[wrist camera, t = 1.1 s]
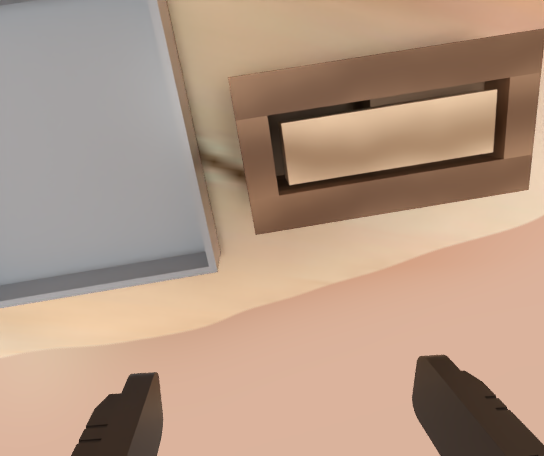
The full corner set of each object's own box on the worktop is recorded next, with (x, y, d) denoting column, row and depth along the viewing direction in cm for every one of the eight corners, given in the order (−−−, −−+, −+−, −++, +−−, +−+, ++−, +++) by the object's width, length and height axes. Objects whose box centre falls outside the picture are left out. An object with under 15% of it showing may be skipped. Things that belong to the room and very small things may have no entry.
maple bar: (277, 121, 24) (281, 123, 22) (473, 90, 25) (497, 89, 22) (285, 177, 26) (289, 185, 23) (470, 147, 26) (493, 152, 24)
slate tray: (-150, 20, 25) (-222, 5, 21) (160, -26, 25) (145, -49, 21) (-17, 291, 32) (-52, 316, 28) (220, 252, 32) (217, 271, 29)
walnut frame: (232, 84, 28) (228, 77, 21) (472, 46, 28) (545, 28, 21) (253, 206, 31) (255, 234, 24) (466, 171, 32) (528, 189, 25)
